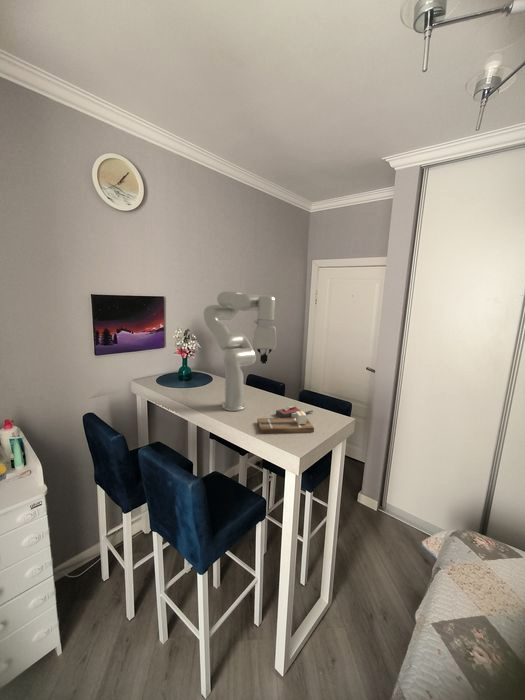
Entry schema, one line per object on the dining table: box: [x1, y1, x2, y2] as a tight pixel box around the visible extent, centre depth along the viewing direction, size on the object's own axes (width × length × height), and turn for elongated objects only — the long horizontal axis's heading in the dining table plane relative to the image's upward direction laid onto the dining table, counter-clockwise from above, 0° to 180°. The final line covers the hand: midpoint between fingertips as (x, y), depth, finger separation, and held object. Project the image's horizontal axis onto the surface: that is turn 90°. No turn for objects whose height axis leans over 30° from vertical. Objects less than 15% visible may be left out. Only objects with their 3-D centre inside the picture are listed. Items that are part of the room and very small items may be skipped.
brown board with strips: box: [256, 417, 315, 435], centre depth 142 cm, size 12×24×2 cm, turn 98°
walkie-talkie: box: [275, 405, 314, 418], centre depth 158 cm, size 9×4×20 cm
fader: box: [296, 410, 308, 424], centre depth 142 cm, size 5×4×4 cm
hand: (263, 362), depth 142 cm, fingers closed
